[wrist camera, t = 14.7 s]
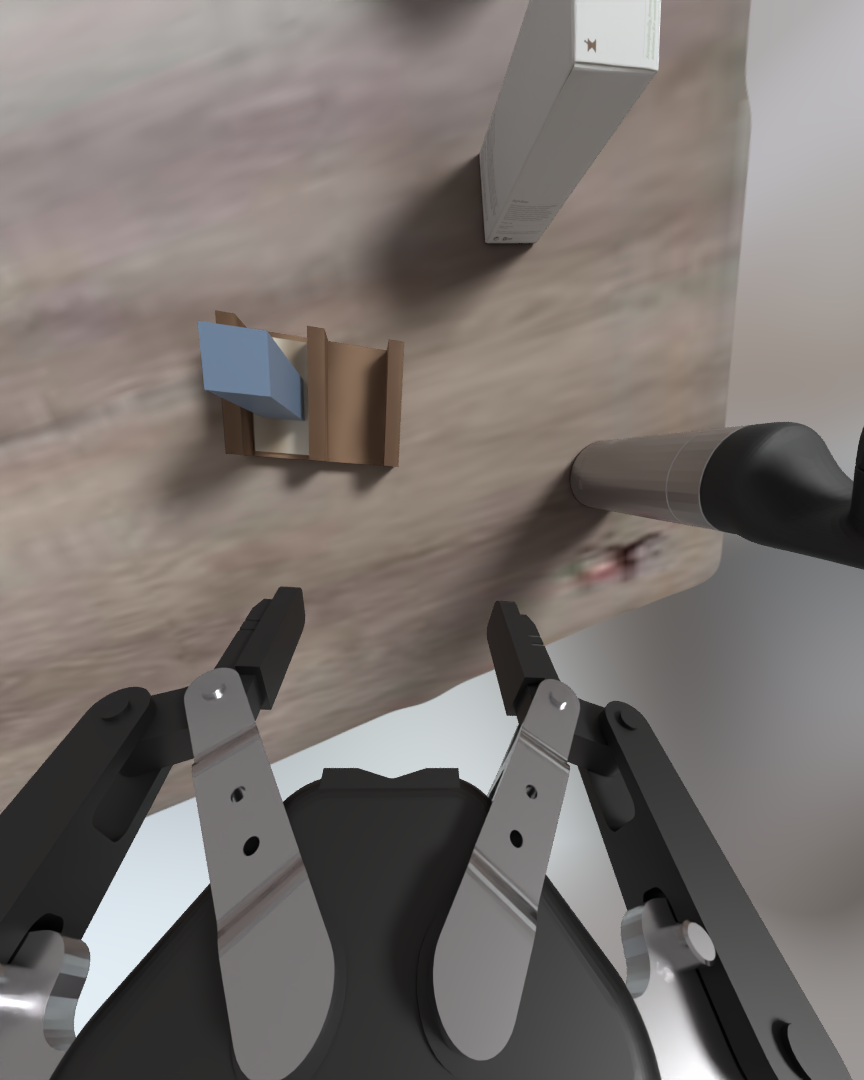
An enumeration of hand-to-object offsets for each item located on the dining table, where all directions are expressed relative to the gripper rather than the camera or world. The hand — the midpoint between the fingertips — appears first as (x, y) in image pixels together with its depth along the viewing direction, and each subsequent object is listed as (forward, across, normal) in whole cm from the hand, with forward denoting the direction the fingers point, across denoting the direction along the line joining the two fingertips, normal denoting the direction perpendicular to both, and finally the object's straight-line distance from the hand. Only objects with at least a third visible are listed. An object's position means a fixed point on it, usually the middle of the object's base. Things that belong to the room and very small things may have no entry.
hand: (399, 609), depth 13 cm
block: (+26, +13, -3) cm, 29 cm away
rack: (+28, +10, -3) cm, 30 cm away
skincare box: (+38, -8, -24) cm, 46 cm away
